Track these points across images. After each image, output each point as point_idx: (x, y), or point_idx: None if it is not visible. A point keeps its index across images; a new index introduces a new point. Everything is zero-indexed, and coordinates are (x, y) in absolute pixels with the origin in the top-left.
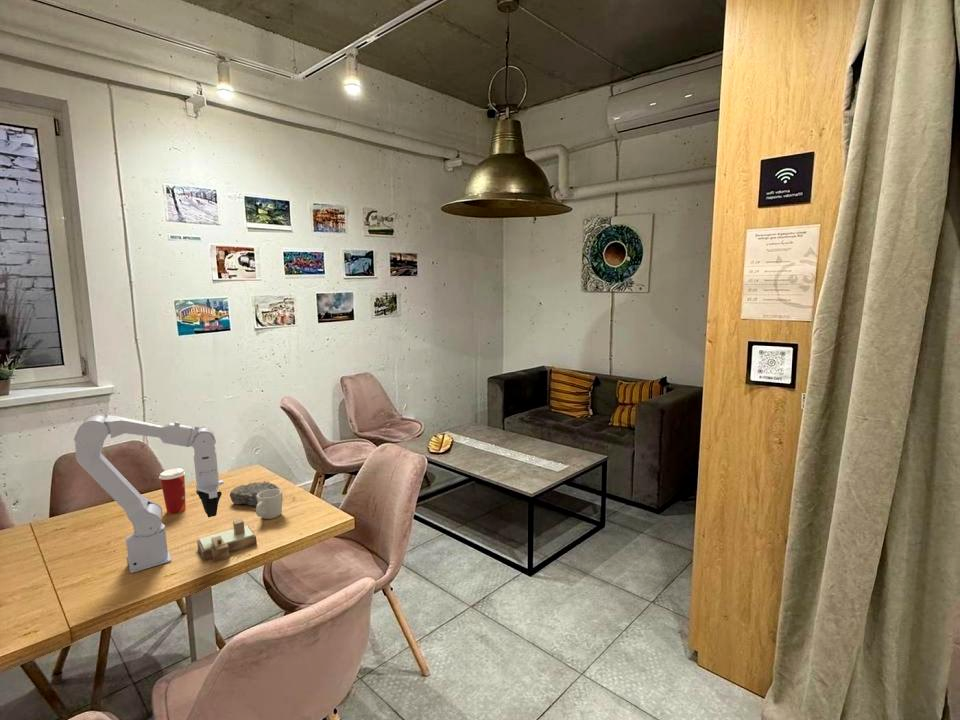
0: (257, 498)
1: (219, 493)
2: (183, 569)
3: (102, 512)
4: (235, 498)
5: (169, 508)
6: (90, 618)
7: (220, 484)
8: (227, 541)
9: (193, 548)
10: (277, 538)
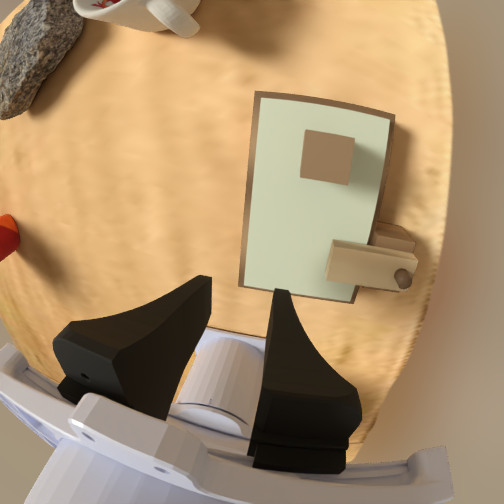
0: (115, 12)
1: (343, 418)
2: (346, 332)
3: (5, 311)
4: (19, 104)
5: (10, 252)
6: (364, 433)
7: (211, 460)
8: (364, 223)
9: (232, 278)
10: (390, 48)
